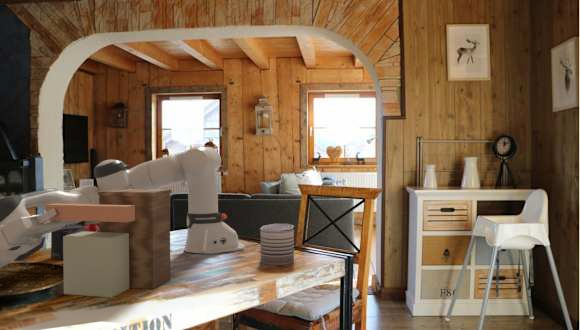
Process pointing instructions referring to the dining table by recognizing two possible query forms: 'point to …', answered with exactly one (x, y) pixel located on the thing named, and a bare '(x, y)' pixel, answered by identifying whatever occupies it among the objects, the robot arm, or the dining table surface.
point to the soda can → (91, 226)
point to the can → (277, 244)
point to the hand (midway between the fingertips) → (62, 210)
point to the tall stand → (143, 233)
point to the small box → (58, 239)
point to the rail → (93, 212)
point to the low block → (96, 263)
